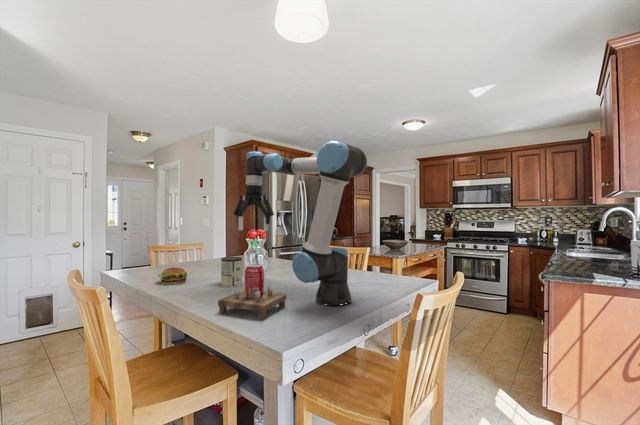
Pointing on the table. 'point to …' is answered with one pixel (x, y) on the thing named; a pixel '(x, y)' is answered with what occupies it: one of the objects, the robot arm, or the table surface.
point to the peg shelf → (252, 302)
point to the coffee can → (231, 271)
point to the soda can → (254, 280)
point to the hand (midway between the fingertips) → (253, 230)
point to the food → (173, 276)
